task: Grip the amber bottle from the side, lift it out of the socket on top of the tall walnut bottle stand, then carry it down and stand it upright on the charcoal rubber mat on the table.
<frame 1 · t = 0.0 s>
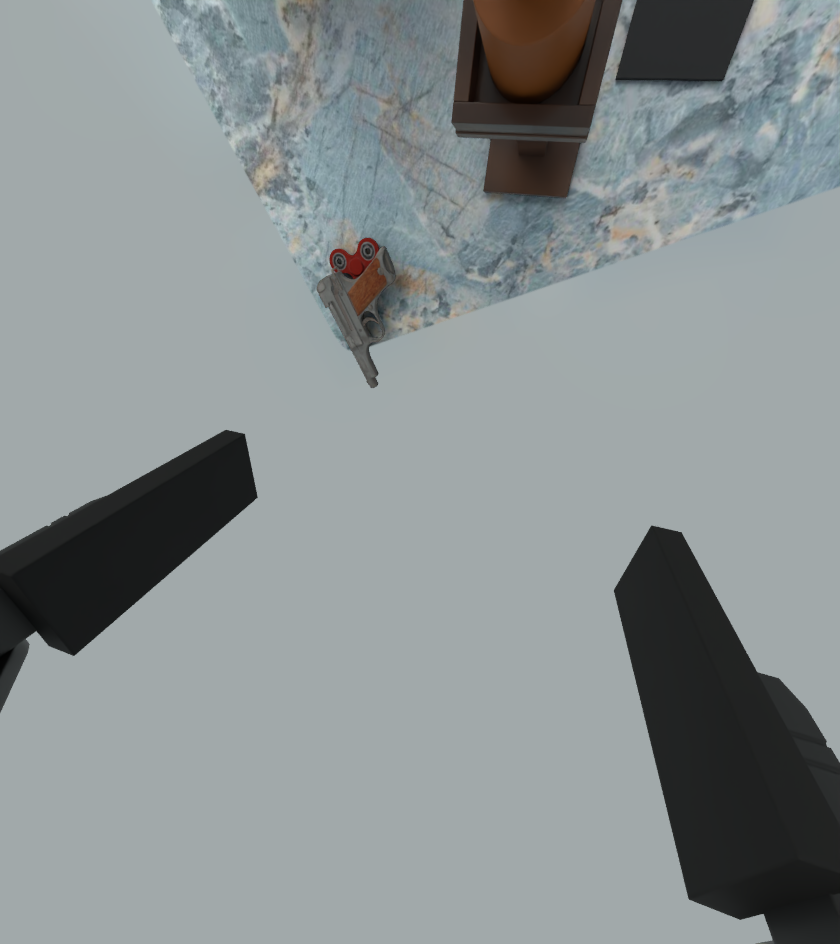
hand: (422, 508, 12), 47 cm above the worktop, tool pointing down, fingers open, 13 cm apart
bottle: (536, 38, 22), point 23 cm above the worktop, touching holder
fidget spinner: (355, 265, 53), on the worktop, touching pistol
pistol: (411, 311, 53), point 1 cm above the worktop, touching fidget spinner
mat: (691, 4, 33), on the worktop
holder: (534, 141, 41), on the worktop
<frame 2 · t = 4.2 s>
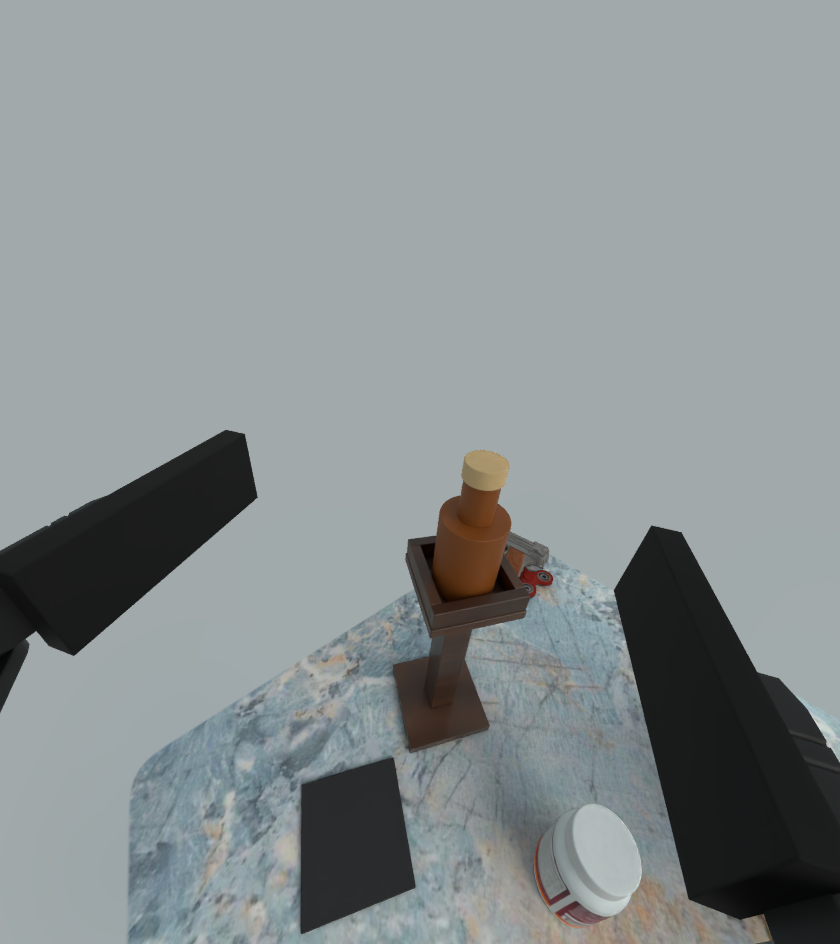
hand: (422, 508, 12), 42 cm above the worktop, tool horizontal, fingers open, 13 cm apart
bottle: (462, 580, 34), point 23 cm above the worktop, touching holder
pill bottle: (563, 877, 34), on the worktop
fidget spinner: (531, 581, 64), on the worktop, touching pistol
pistol: (473, 563, 65), point 1 cm above the worktop, touching fidget spinner
mat: (354, 833, 35), on the worktop
holder: (437, 697, 46), on the worktop
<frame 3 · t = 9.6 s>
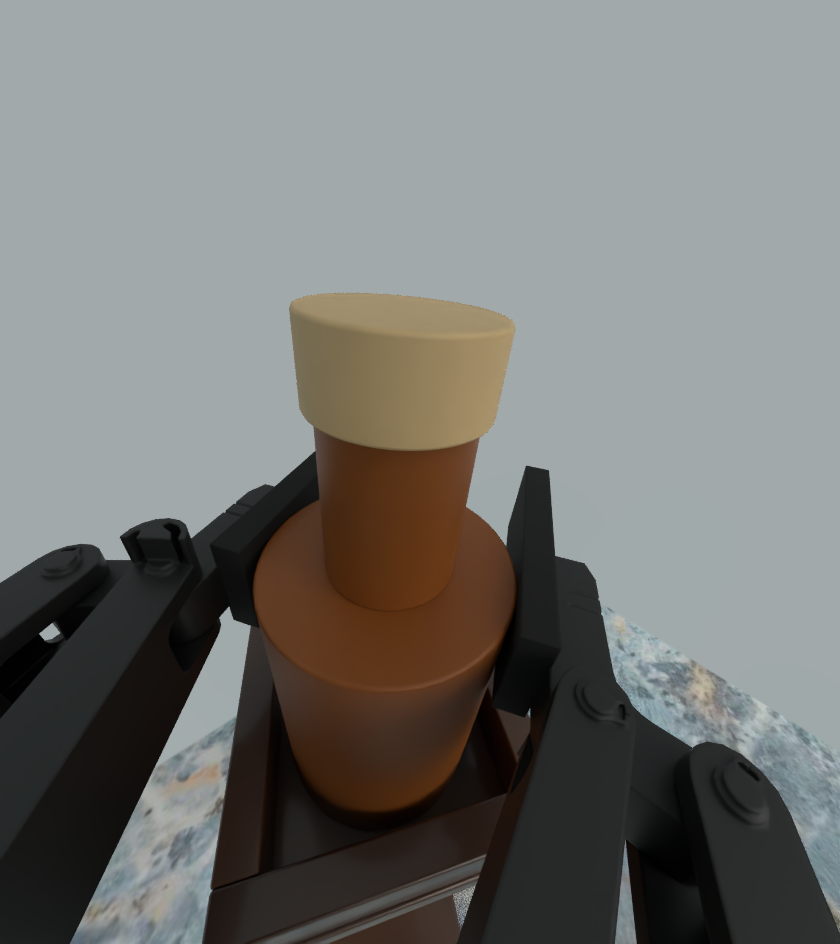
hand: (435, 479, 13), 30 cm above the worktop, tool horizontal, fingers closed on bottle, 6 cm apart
bottle: (381, 714, 13), point 23 cm above the worktop, touching gripper, holder
holder: (372, 865, 25), on the worktop
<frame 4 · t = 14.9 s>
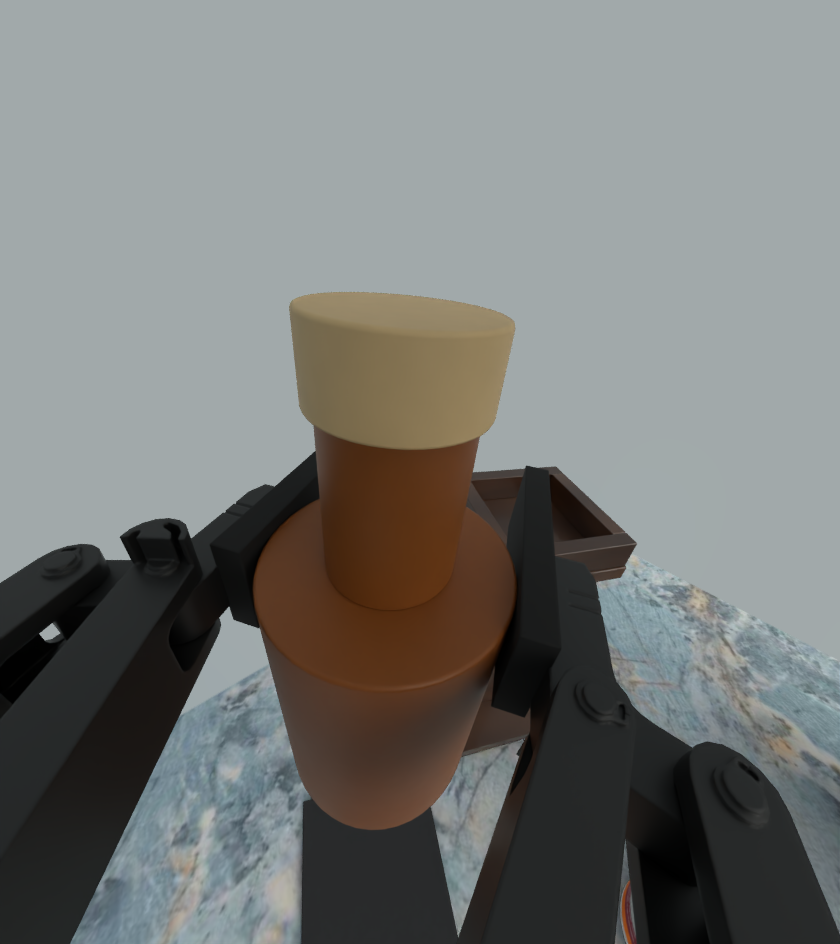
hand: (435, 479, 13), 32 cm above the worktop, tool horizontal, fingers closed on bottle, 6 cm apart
bottle: (381, 714, 13), point 25 cm above the worktop, touching gripper
pill bottle: (663, 941, 24), on the worktop
mat: (373, 870, 26), on the worktop
holder: (473, 692, 37), on the worktop
when the fingers open (7 cm above the worktop, at t = 20.3 s): bottle stays where it is, resting on mat.
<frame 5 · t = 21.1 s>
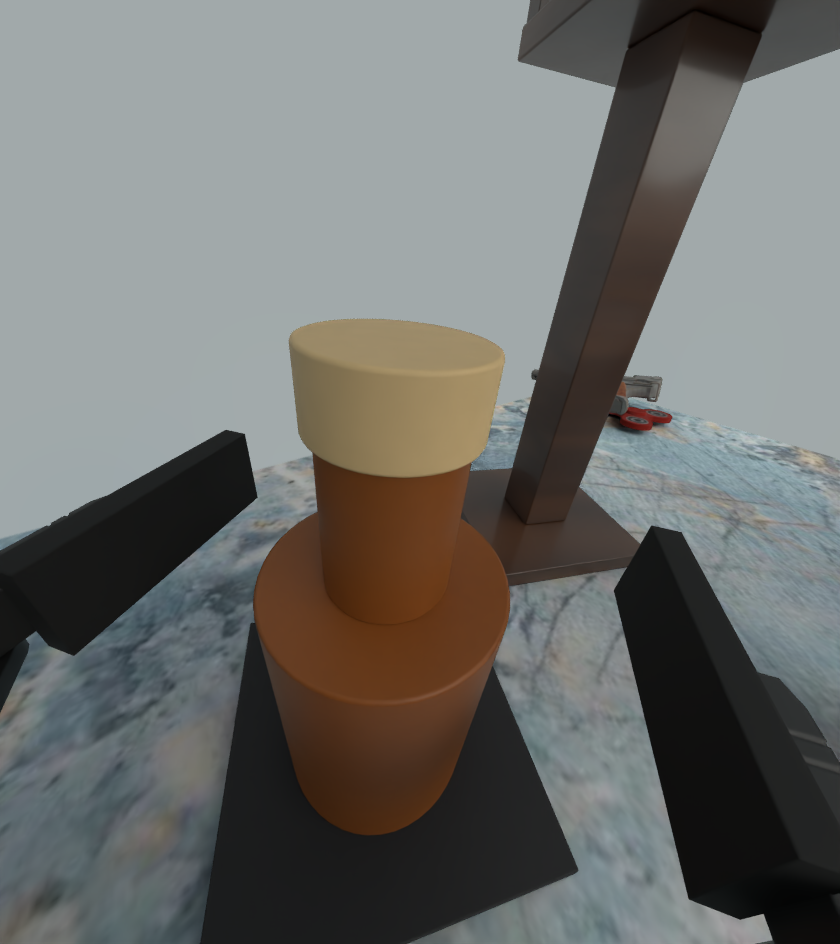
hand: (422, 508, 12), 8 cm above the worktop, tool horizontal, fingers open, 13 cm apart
bottle: (378, 720, 13), resting on mat
fidget spinner: (637, 422, 42), on the worktop, touching pistol
pistol: (546, 396, 43), point 1 cm above the worktop, touching fidget spinner
mat: (379, 725, 13), on the worktop
holder: (530, 519, 24), on the worktop
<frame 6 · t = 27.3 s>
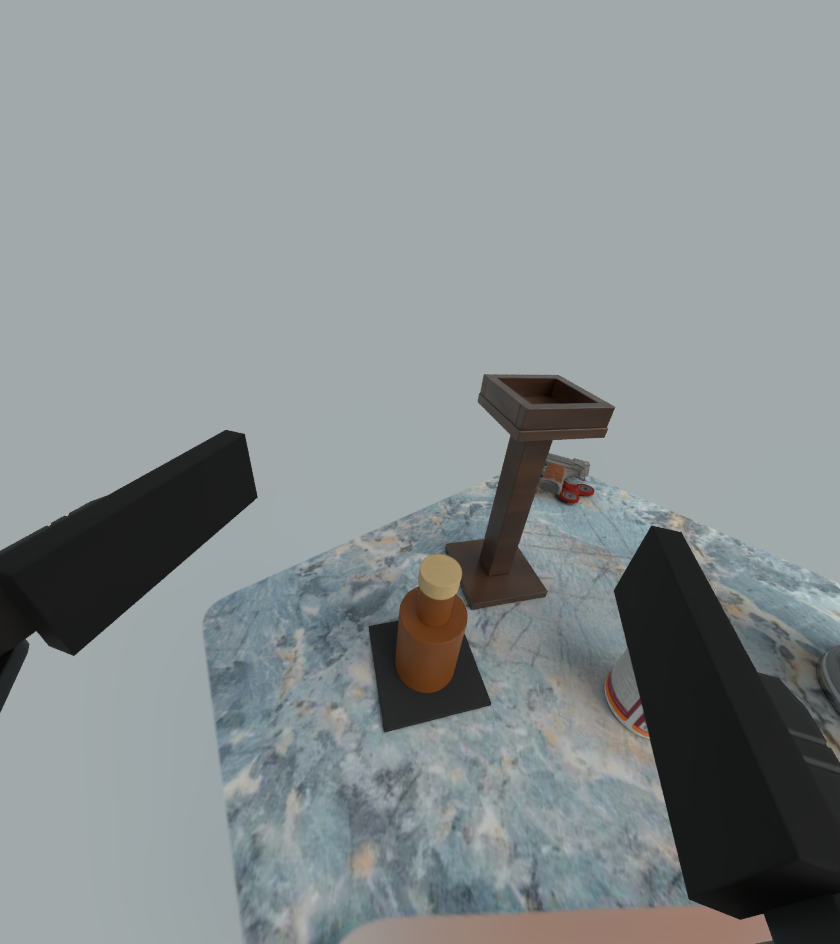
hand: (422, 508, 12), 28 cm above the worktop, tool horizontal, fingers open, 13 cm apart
bottle: (425, 661, 35), resting on mat
pill bottle: (635, 705, 34), on the worktop
fidget spinner: (572, 493, 64), on the worktop, touching pistol
pistol: (514, 475, 65), point 1 cm above the worktop, touching fidget spinner
mat: (425, 663, 35), on the worktop
holder: (492, 571, 47), on the worktop
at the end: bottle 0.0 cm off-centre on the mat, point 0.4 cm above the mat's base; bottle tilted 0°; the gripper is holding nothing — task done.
